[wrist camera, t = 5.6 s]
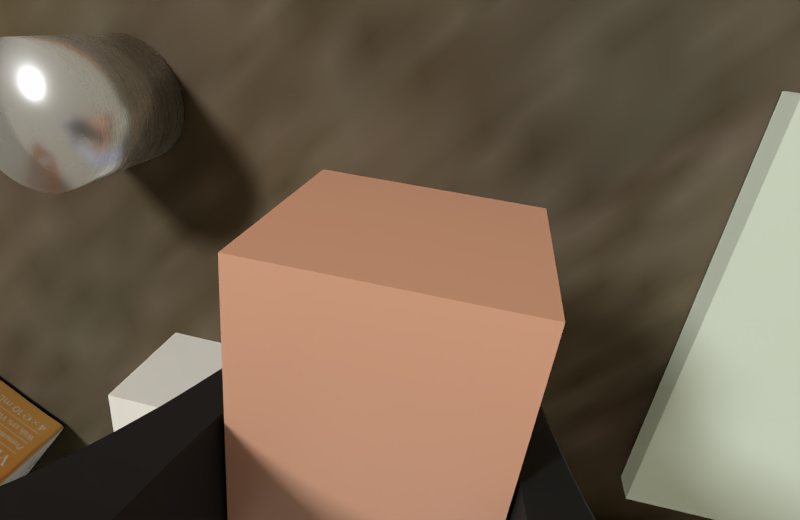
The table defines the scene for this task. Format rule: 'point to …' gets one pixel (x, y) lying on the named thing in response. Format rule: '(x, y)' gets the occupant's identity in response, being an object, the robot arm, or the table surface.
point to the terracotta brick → (384, 352)
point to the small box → (22, 434)
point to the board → (736, 360)
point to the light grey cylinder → (83, 108)
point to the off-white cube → (164, 377)
